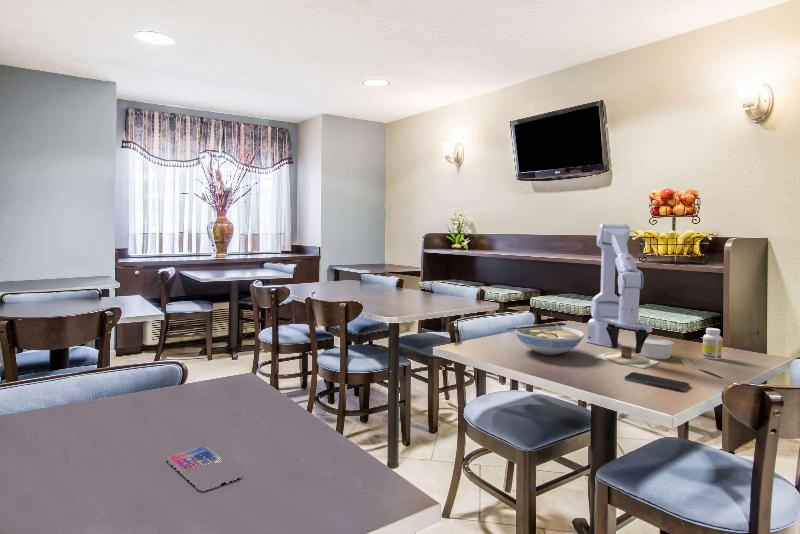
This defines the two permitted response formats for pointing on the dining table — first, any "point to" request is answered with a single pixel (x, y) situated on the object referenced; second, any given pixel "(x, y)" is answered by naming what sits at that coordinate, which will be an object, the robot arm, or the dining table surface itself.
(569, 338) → the ramen bowl
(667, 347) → the ramekin
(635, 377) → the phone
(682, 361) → the fork
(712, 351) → the supplement bottle
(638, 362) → the lid
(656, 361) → the mat
